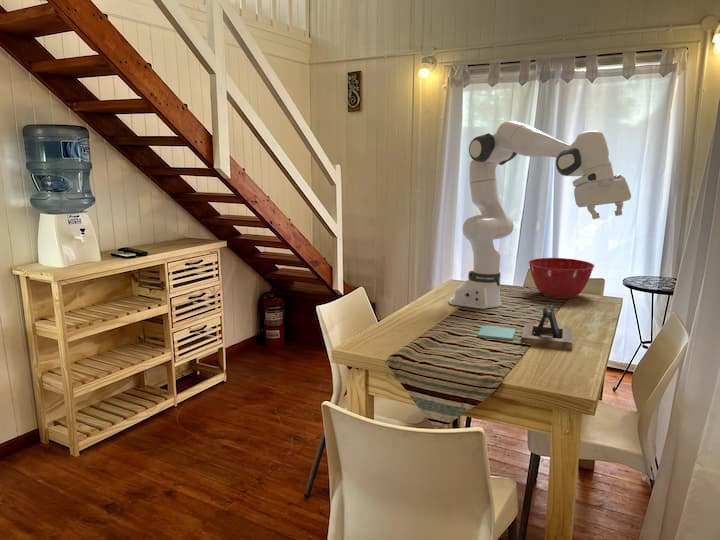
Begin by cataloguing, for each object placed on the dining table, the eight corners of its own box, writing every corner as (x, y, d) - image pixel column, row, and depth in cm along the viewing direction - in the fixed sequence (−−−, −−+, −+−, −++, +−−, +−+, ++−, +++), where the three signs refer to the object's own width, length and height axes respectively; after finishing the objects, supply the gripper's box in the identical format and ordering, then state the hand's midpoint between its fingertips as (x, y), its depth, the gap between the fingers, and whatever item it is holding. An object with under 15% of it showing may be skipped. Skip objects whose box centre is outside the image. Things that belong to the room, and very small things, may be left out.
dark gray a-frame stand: (561, 338, 189) (564, 305, 187) (559, 343, 184) (561, 309, 182) (535, 335, 193) (537, 302, 191) (531, 339, 188) (534, 306, 186)
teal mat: (477, 336, 191) (477, 334, 191) (482, 327, 202) (482, 325, 202) (512, 340, 187) (512, 338, 187) (515, 330, 198) (515, 328, 198)
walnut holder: (521, 344, 183) (521, 337, 183) (524, 329, 200) (525, 322, 199) (571, 349, 178) (572, 342, 177) (571, 334, 194) (571, 327, 194)
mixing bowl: (587, 306, 233) (590, 271, 230) (520, 298, 247) (522, 265, 244) (595, 292, 257) (597, 260, 254) (533, 286, 271) (535, 256, 268)
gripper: (617, 177, 189) (625, 215, 188) (568, 182, 183) (576, 222, 181) (630, 171, 183) (639, 211, 182) (581, 177, 177) (589, 218, 175)
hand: (607, 217), depth 181 cm, fingers open, 8 cm apart
